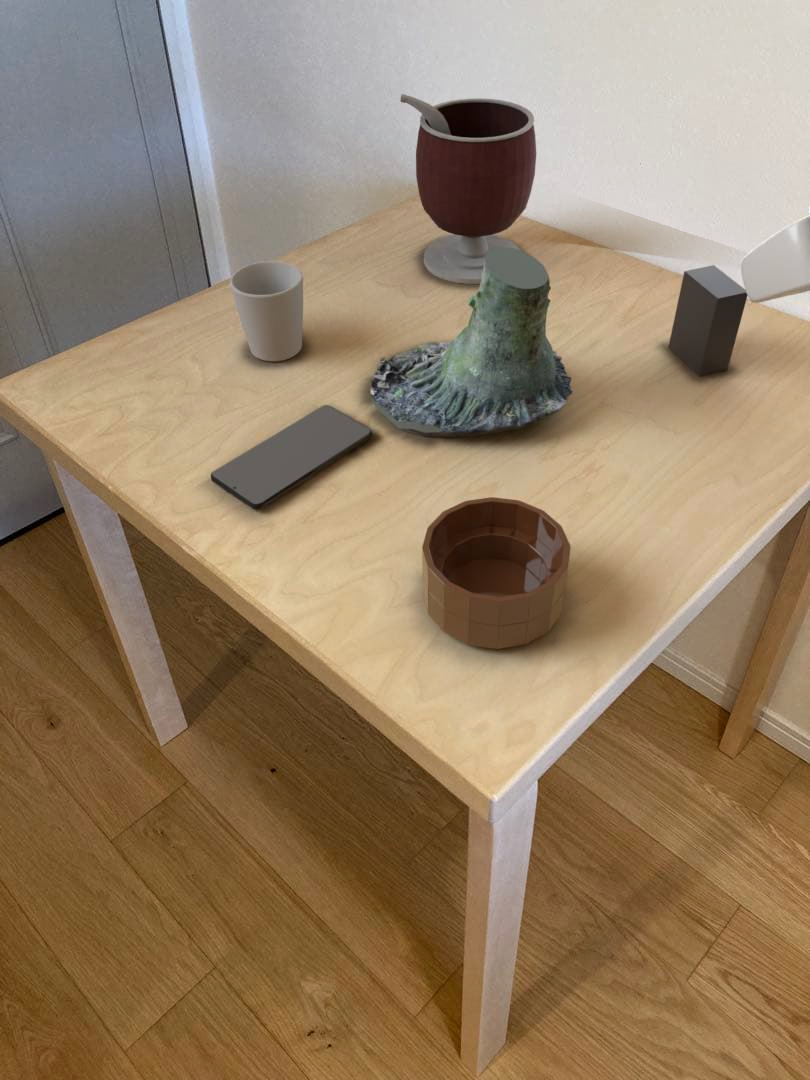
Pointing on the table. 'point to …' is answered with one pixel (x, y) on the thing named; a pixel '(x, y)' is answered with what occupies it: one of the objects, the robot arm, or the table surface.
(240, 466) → the smartphone
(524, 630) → the bowl
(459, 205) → the mate gourd
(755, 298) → the robot arm
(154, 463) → the table surface
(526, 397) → the tree stump
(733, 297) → the case
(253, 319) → the cup
